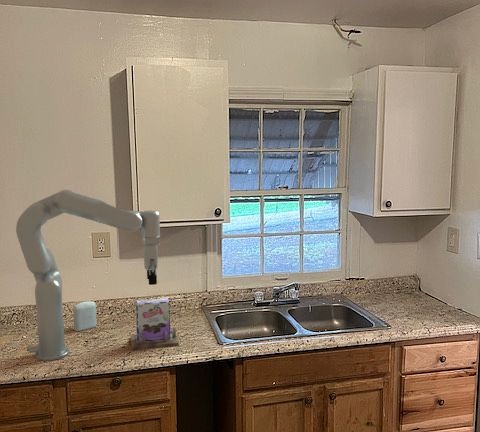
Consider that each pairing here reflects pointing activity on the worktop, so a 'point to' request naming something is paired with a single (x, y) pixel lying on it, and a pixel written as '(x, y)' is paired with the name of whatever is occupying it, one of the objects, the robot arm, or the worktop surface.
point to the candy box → (152, 319)
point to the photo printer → (84, 315)
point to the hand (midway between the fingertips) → (151, 281)
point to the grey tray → (158, 343)
